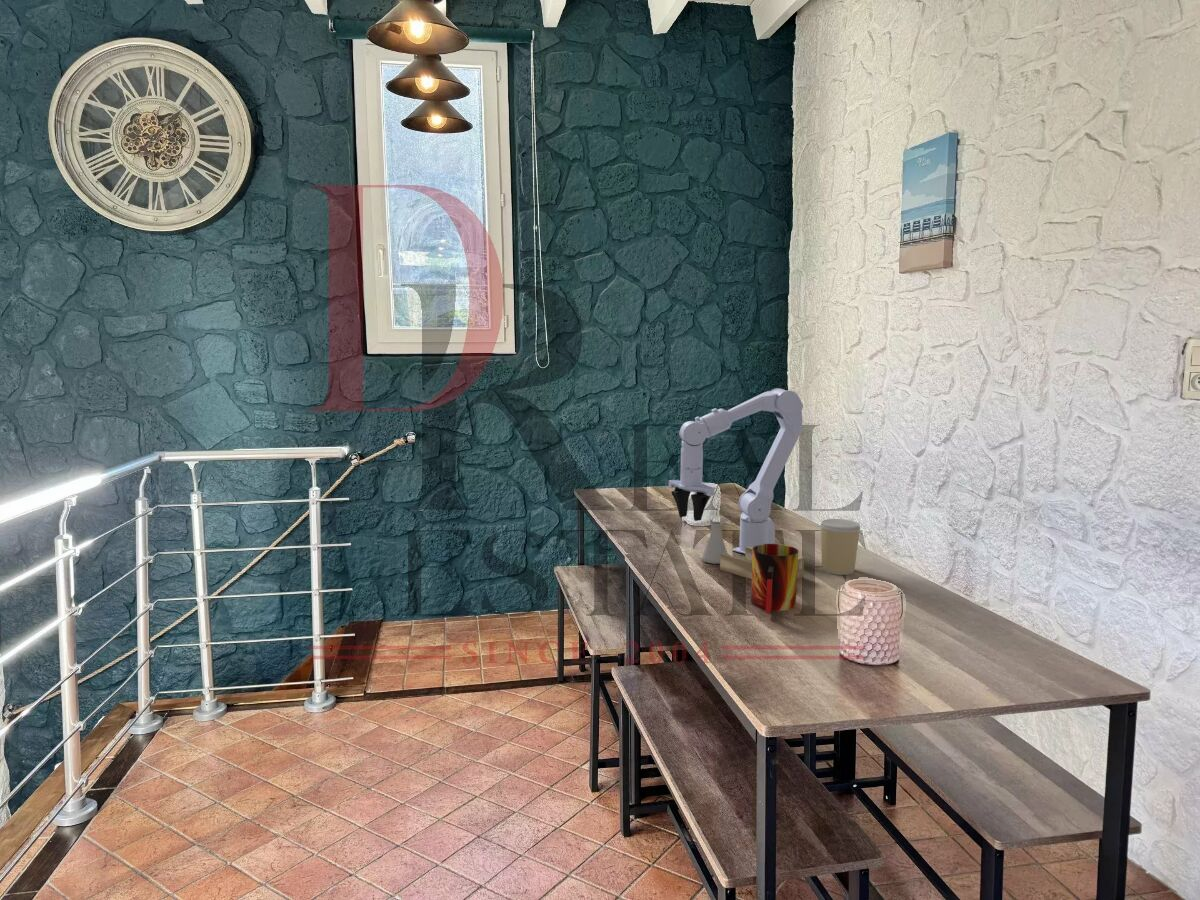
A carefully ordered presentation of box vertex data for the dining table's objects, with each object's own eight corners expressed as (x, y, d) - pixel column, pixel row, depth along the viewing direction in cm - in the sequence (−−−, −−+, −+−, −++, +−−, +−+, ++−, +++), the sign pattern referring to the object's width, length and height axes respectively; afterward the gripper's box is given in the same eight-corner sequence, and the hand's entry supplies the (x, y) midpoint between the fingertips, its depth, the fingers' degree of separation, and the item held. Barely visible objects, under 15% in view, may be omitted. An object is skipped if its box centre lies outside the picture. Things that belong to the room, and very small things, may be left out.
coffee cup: (860, 567, 201) (862, 520, 199) (854, 578, 193) (857, 529, 191) (821, 562, 205) (824, 516, 203) (815, 572, 197) (817, 525, 195)
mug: (766, 618, 166) (768, 562, 164) (744, 596, 179) (746, 544, 177) (810, 616, 167) (813, 561, 165) (786, 595, 180) (788, 543, 179)
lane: (747, 561, 206) (747, 542, 205) (803, 577, 193) (804, 557, 192) (719, 569, 199) (720, 550, 198) (776, 586, 186) (777, 565, 185)
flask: (729, 565, 202) (730, 527, 201) (700, 563, 204) (701, 525, 202) (730, 557, 209) (731, 520, 208) (702, 555, 211) (703, 518, 209)
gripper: (660, 465, 212) (659, 515, 215) (702, 473, 202) (700, 525, 204) (679, 462, 217) (678, 511, 219) (720, 470, 206) (719, 521, 208)
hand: (690, 518), depth 212 cm, fingers open, 5 cm apart
